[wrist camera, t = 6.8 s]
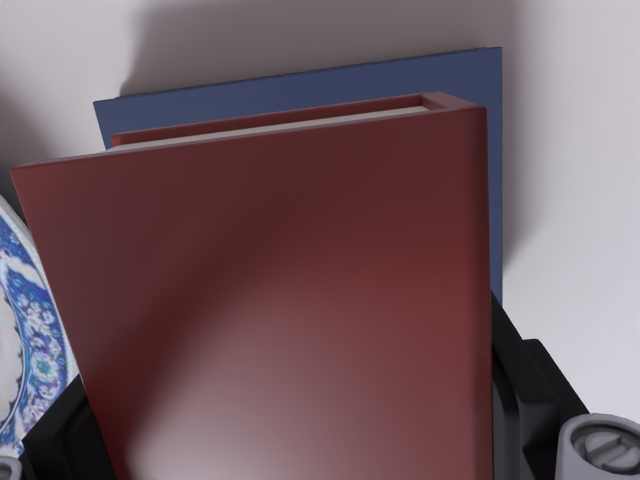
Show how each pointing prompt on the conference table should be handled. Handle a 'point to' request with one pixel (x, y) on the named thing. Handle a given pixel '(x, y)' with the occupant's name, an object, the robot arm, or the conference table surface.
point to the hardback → (333, 88)
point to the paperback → (280, 291)
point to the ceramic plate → (27, 336)
